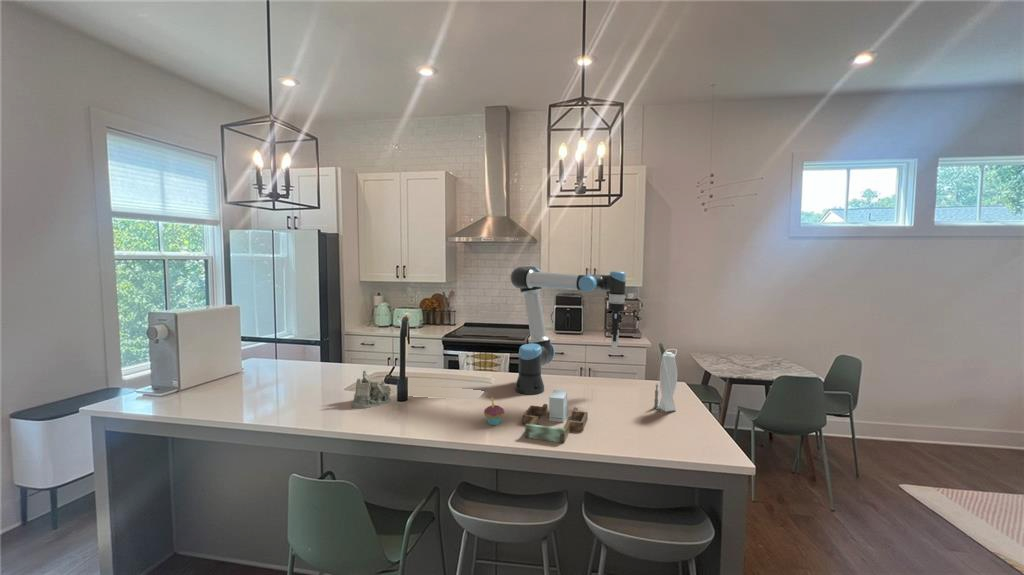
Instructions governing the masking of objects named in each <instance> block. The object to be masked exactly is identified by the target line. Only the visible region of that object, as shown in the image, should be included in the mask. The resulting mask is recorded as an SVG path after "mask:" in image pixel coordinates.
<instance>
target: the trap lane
mask: <svg viewBox="0 0 1024 575" xmlns="http://www.w3.org/2000/svg"><path fill="white" fill-rule="evenodd" d="M588 413H589V412H588V411H582V410H581V411H580V410H578V407H577V406H575V407H574V406H573V408H572V411H571V420H570V419H569V420H566V421H565V424H564V426H563V427H555V426H548V425H541V424H540V425H539V419H540V418H541V416H546V414H548V404H547V403H543V405H542V406H541V405H540V406H538V405H530V406H529V407H527V409H526V411H525V412H524V413H523V415H522V424H523V425H525V430H524V431H525V432H524V434H525V436H524V438H525V439H526V438H527V439H531V438H533V440H538V439H540V441H545V440H547V441H546V442H552V441H553V442H552V443H559V442H560V443H559V444H565V442H566V441H567V438H568V436H569V434H570V432H571V431H573V430H575V431H576V432H581V431H583V432H584V429H585V428H584V427H586V425H587V423H588V415H589V414H588Z"/></svg>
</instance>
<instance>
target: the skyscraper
mask: <svg viewBox="0 0 1024 575" xmlns="http://www.w3.org/2000/svg"><path fill="white" fill-rule="evenodd" d="M670 351H675V353H673V352H670ZM677 353H678V349H676V348H668V349H666V350H665V351H664V352H663V354H662V355H661V356H662V358H661V362H660V368H659V385H658V384H656V385H655V390H654V405H653V407H654V408H653V409H655V408H656V409H655V410H657V409H658V410H657V411H659V410H660V411H662V412H666V413H670V412H669V411H674V412H676V411H677V409H676V406H675V399H674V394H675V391H676V388H677V384H678V367H677V362H676V356H677ZM658 386H659V387H660V388H659V387H658ZM658 388H659V389H660V394H661V399H660V401H659V389H658ZM660 411H659V412H660ZM662 412H661V413H662Z"/></svg>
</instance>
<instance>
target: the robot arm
mask: <svg viewBox="0 0 1024 575" xmlns="http://www.w3.org/2000/svg"><path fill="white" fill-rule="evenodd" d="M609 273H610V274H608V275H605V274H594V273H592V274H571V273H557V272H556V273H555V272H543V271H541V270H540V269H539V268H538V267H535V266H532V265H531V266H519V267H516V268H514V269H513V270H512V272H511V274H510V282H511V283H512V285H513V286H514V287H515V288H517V289H519V290H520V293H521V295H523V298H524V304H525V309H526V316H527V322H528V326H529V327H528V328H529V334H530V340H528V343H526V344H522V345H521V346H519V349H518V376H517V380H516V382H515V386H514V391H516V392H517V393H520V394H523V395H538V394H541V393H544V391H545V385H544V384H545V383H544V381H543V378H542V367H543V366H545V365H547V364H549V363H550V362H552V361H553V359H554V358H555V356H556V355H555V354H556V349H555V346H554V345H553V344H552V343H551V339H550V337H548V336H547V331H546V330H547V329H546V325H545V318H544V313H543V308H542V301H541V295H540V292H542V289H543V288H547V289H548V288H549V289H557V290H558V289H559V290H571V291H572V290H573V291H581V292H582V291H583V292H586V293H590V292H593V291H598V290H599V291H609V293H608V294H609V295H608V302H609V303H608V311H611V312H613V313H612V314H611V319H612V320H611V323H612V327H611V328H612V330H611V332H610V335H611V348H612V349H618V344H619V337H620V336H619V331H621V327H620V325H619V324H620V320H621V314H620V312H624V311H625V305H626V304H625V301H626V300H625V299H627V296H625V295H626V282H627V281H626V272H624V271H616V270H615V271H613V270H612V271H610V272H609Z"/></svg>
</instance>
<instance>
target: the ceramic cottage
mask: <svg viewBox="0 0 1024 575" xmlns="http://www.w3.org/2000/svg"><path fill="white" fill-rule="evenodd" d="M391 391H392V389H391V387H390V385H385V380H381V381H373V379H372V377H370V375H369V374H367V371H366V370H363V371H362V379H361V378H360V377H358V378H356V384H355V393H354V395H353V401H352V402H351V408H352V409H358V410H360V409H370V408H375V407H378V406H383V405H387V404H389V403H390V402H391V400H392V399H391V396H390V394H391Z"/></svg>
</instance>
